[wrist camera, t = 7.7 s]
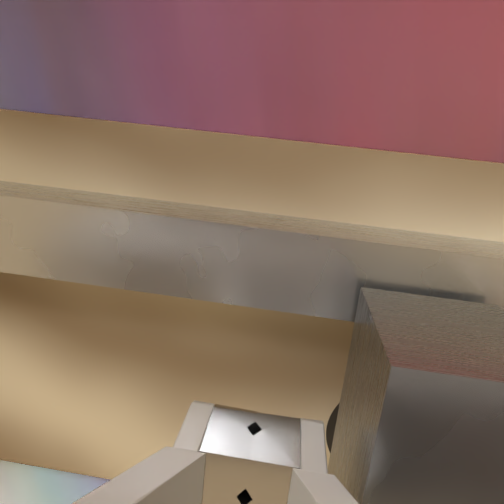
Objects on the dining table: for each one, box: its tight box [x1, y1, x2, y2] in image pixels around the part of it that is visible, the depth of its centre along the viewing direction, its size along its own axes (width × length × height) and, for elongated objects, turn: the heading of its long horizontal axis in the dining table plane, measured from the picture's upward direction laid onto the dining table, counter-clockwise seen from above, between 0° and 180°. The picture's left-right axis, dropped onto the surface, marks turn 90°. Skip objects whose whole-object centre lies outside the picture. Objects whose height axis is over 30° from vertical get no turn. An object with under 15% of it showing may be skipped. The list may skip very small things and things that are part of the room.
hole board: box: [0, 109, 504, 479], centre depth 14 cm, size 12×26×1 cm, turn 84°
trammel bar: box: [0, 181, 504, 322], centre depth 12 cm, size 8×22×3 cm, turn 84°
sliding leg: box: [328, 287, 504, 504], centre depth 10 cm, size 7×3×6 cm, turn 174°
